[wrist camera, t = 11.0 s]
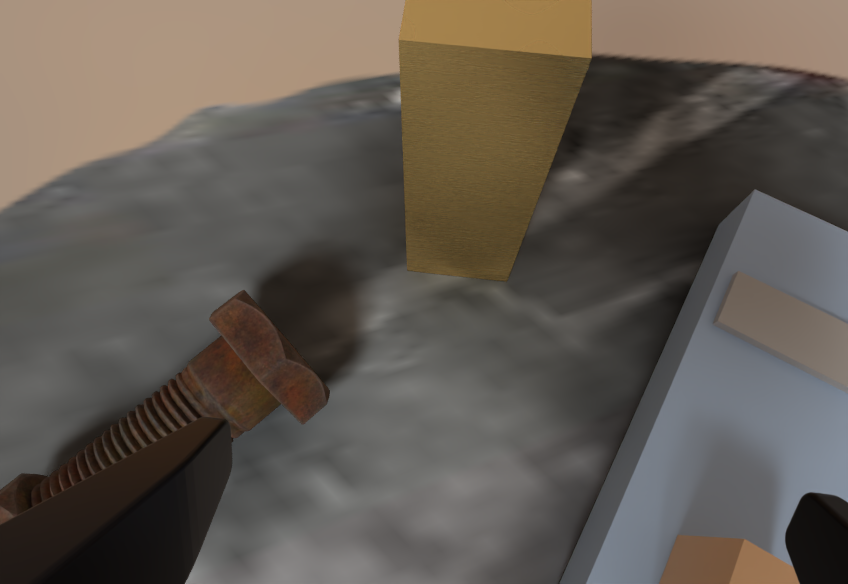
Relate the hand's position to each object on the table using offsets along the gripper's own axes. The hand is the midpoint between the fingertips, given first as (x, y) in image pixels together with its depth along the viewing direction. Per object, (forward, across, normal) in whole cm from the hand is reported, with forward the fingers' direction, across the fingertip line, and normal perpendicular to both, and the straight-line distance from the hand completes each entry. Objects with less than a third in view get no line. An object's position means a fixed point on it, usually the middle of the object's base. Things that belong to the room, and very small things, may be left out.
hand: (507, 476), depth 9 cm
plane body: (+12, -11, +7) cm, 18 cm away
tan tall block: (+18, +1, +2) cm, 18 cm away
